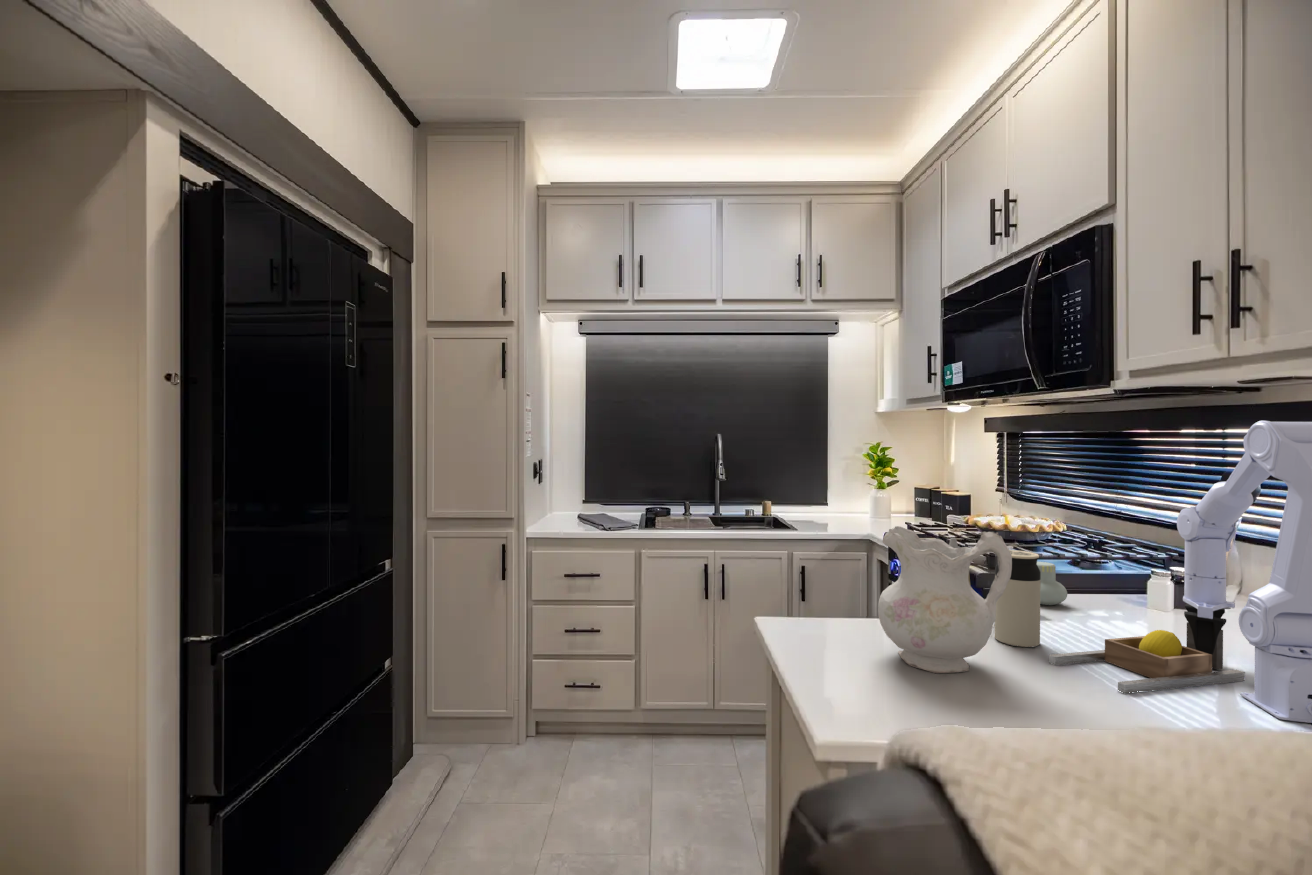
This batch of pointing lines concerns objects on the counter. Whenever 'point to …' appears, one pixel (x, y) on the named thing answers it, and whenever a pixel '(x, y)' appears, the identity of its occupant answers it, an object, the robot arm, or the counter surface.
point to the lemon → (1161, 644)
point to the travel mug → (1020, 603)
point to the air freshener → (1050, 585)
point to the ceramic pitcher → (940, 600)
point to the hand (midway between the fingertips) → (1204, 649)
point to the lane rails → (1152, 683)
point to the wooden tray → (1156, 666)
